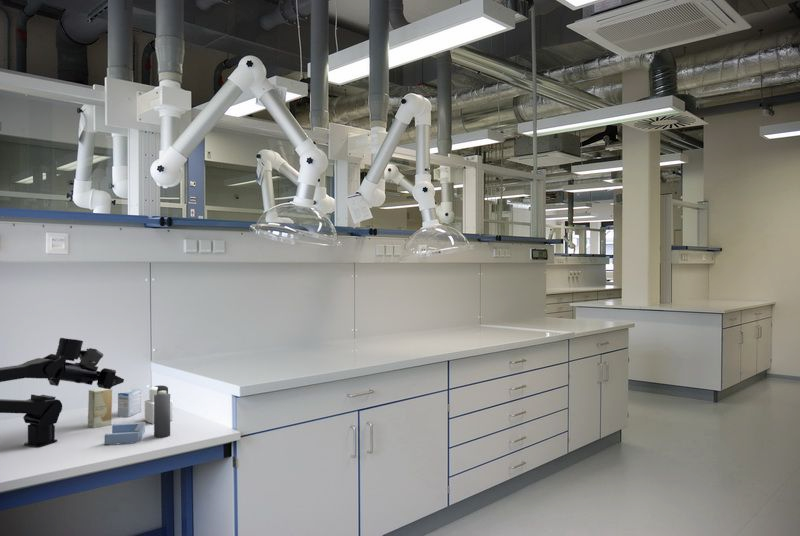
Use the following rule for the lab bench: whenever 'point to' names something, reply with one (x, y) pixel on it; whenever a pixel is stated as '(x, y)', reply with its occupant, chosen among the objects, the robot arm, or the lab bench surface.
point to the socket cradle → (125, 433)
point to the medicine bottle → (150, 403)
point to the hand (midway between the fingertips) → (114, 378)
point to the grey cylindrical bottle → (161, 414)
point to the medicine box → (129, 402)
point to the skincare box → (99, 407)
